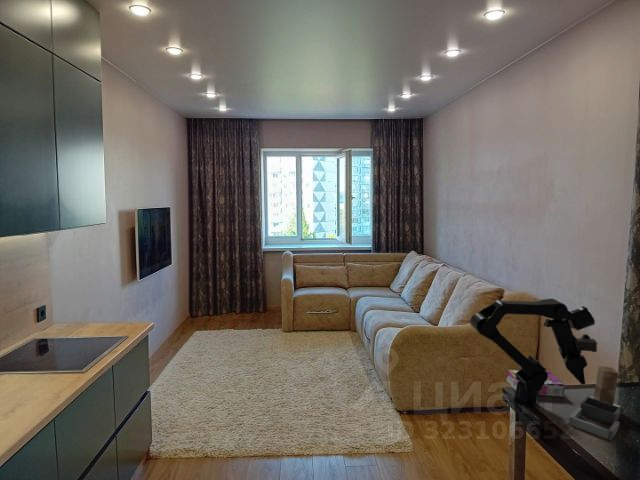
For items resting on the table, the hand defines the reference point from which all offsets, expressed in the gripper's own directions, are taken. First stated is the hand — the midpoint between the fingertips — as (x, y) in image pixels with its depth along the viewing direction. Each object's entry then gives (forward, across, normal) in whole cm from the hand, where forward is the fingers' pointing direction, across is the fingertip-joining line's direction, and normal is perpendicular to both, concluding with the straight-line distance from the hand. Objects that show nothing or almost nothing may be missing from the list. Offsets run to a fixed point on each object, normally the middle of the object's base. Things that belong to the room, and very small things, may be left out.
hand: (581, 379), depth 158 cm
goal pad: (+13, +7, -3) cm, 15 cm away
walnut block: (+13, +7, -4) cm, 15 cm away
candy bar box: (+5, +14, +8) cm, 17 cm away
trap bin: (+13, -1, -1) cm, 13 cm away
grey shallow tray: (+12, -10, +2) cm, 15 cm away
